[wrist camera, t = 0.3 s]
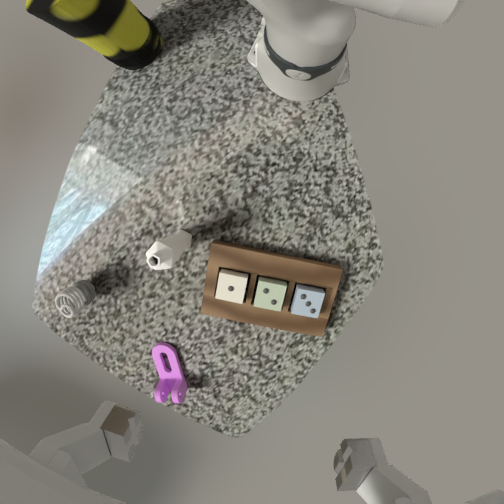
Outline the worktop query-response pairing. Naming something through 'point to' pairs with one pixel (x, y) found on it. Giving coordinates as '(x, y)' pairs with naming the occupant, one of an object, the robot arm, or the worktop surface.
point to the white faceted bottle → (168, 250)
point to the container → (104, 28)
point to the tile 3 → (307, 301)
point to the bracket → (169, 374)
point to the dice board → (275, 268)
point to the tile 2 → (270, 293)
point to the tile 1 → (231, 286)
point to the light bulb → (75, 298)
